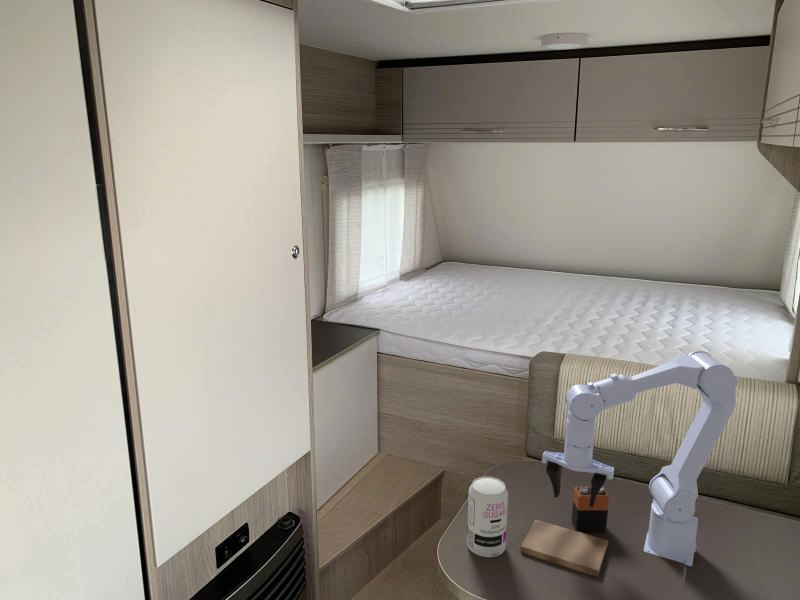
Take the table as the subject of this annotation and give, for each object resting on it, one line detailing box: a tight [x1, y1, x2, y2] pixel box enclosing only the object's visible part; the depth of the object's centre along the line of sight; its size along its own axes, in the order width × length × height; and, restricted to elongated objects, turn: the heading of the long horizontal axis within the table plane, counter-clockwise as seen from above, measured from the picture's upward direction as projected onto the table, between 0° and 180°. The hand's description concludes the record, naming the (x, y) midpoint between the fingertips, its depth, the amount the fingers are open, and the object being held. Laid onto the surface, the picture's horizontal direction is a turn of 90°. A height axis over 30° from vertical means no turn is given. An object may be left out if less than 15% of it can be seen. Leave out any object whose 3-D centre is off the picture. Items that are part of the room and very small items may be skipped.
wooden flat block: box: [520, 519, 609, 578], centre depth 127 cm, size 16×11×2 cm
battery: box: [571, 485, 610, 533], centre depth 133 cm, size 4×7×10 cm, turn 91°
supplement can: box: [466, 476, 509, 558], centre depth 126 cm, size 8×8×15 cm
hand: (574, 499), depth 127 cm, fingers open, 7 cm apart
